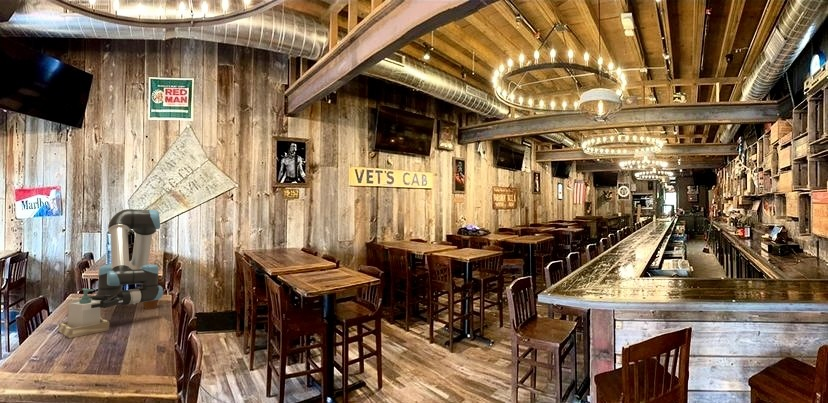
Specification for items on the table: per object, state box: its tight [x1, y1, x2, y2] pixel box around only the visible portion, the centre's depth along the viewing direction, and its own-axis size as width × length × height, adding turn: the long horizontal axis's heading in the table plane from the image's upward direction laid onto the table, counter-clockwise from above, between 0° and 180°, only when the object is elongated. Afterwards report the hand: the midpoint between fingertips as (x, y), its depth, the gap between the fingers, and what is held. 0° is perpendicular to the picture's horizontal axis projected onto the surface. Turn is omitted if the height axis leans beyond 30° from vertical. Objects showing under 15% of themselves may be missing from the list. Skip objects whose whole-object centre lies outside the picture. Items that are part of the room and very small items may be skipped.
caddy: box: [57, 317, 110, 339], centre depth 188 cm, size 15×15×4 cm
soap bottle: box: [67, 288, 102, 328], centre depth 188 cm, size 9×9×19 cm
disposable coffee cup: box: [142, 299, 159, 310], centre depth 231 cm, size 10×10×12 cm
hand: (76, 305), depth 185 cm, fingers open, 13 cm apart
